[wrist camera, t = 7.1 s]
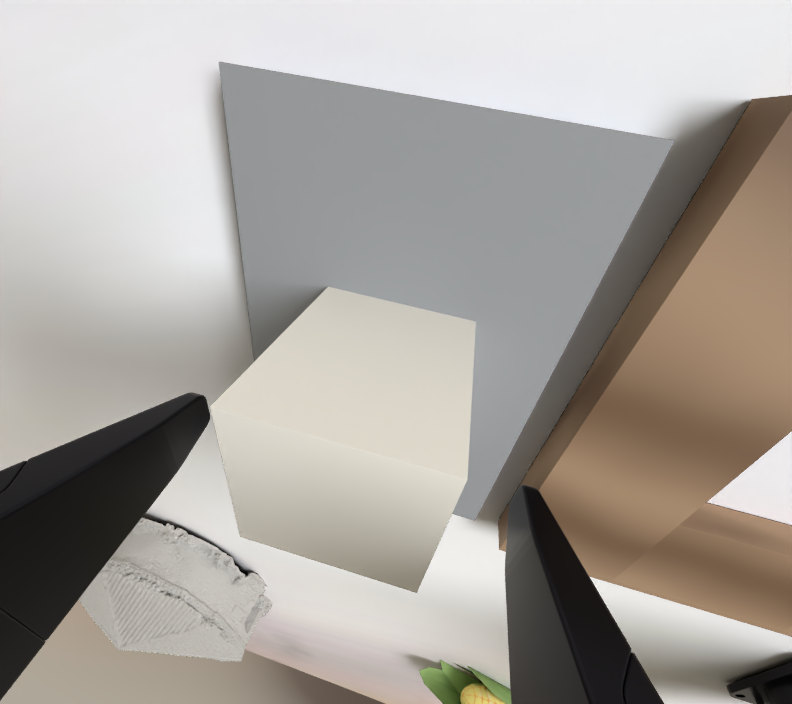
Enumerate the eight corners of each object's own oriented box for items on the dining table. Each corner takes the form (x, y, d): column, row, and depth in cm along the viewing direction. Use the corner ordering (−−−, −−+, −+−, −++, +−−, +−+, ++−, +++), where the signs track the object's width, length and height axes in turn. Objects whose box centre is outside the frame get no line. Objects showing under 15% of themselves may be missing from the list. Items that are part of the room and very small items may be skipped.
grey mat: (475, 502, 18) (474, 520, 17) (275, 444, 19) (265, 459, 18) (656, 139, 8) (675, 140, 8) (241, 67, 9) (218, 61, 9)
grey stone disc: (293, 628, 37) (260, 716, 32) (135, 586, 40) (80, 660, 35) (254, 525, 26) (193, 633, 21) (41, 479, 29) (-61, 562, 24)
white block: (441, 427, 14) (416, 592, 9) (324, 395, 14) (240, 536, 9) (475, 321, 11) (466, 479, 6) (328, 286, 11) (209, 406, 7)
